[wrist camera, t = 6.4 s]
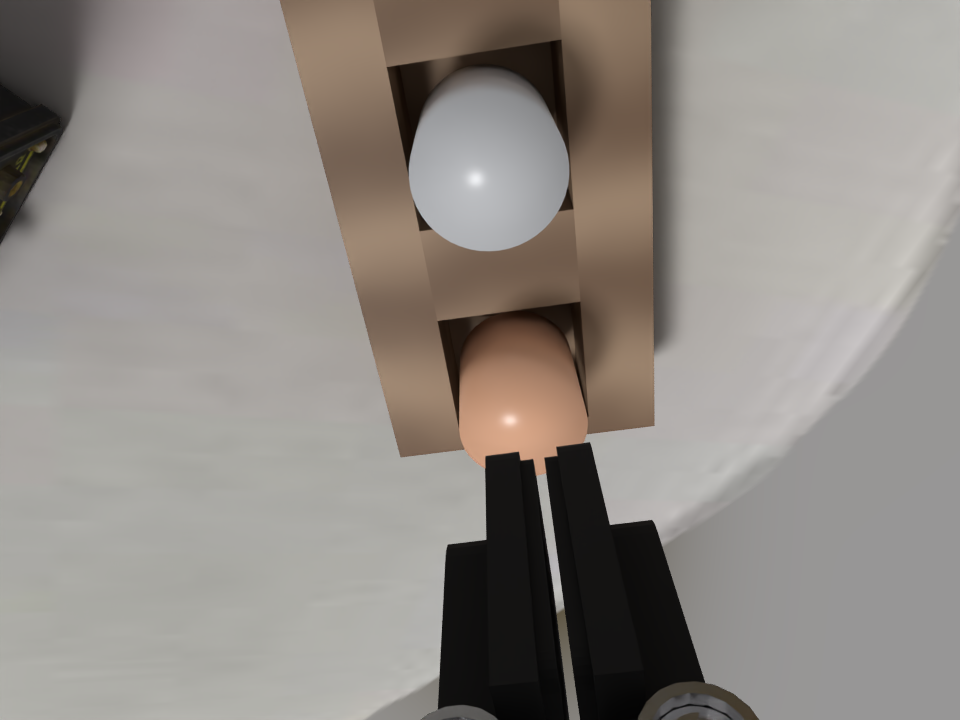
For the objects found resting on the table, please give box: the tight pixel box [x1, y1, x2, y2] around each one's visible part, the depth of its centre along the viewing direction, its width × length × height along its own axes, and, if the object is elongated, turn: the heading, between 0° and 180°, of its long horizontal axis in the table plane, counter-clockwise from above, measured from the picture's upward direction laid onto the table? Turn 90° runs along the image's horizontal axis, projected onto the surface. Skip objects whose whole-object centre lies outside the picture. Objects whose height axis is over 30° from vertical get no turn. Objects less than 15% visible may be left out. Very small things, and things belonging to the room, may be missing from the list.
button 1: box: [459, 311, 588, 476], centre depth 29 cm, size 5×5×5 cm
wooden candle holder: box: [280, 0, 654, 457], centre depth 27 cm, size 28×12×5 cm, turn 8°
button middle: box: [409, 64, 569, 251], centre depth 23 cm, size 5×5×5 cm
